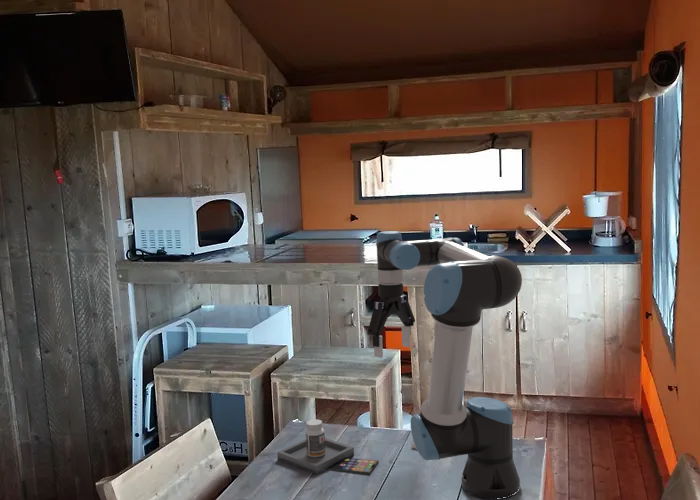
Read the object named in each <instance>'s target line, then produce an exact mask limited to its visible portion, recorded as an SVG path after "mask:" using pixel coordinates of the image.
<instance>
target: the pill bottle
mask: <svg viewBox="0 0 700 500" xmlns="http://www.w3.org/2000/svg"><path fill="white" fill-rule="evenodd" d="M325 436H326V435H325V429H324V428H323V421H322V420H320V419H318V418H317V419H310V420H308V421H306V429H305V439H306V452H307V455H308V456H309V457H313V458H317V457H321V456H323V455H324V454H325V452H326V450H325V438H326V437H325Z"/></svg>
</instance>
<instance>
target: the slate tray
mask: <svg viewBox="0 0 700 500" xmlns="http://www.w3.org/2000/svg"><path fill="white" fill-rule="evenodd" d="M325 450H326V452H325V454H324V455H323V456H321V457H317V458H313V457H309V456H308V455H307V452H306V438H305V439H303V440H301V441H298V442H297V443H294V444H292V445H290V446H288V447H284V449H281V450H279V451H277V453H276V454H277V460H278V461H279V462H282V463H285V464H288V465H290V466H293V467H296V468H297V469H298V468H299V469H301V470H304V471H306V472H309V473H311V474H314V475H319V474H321V473H323V472H324V471H326V469H327V468H328V467H330V466H332V465H333V464H335V463H337V462H339V461H341V460H343V459H345V458H352V457H353V456H355V448H354V446H351V445H348V444H344V443H343V442H339V441H336V440H332V439H330V438H326V437H325Z"/></svg>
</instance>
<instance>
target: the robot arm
mask: <svg viewBox="0 0 700 500" xmlns="http://www.w3.org/2000/svg"><path fill="white" fill-rule="evenodd" d="M402 238H403V237H402V233H401V231H398V230H397V231H396V230H392V231H391V230H389V231H388V230H387V231H386V230H385V231H380V232H378V233H377V234H376V243H375V245H376V259H377V260H376V261H377V262H376V263H377V265H376V266H377V281H378V284H377V288H378V289H377V292H378V296H379V297H380V301H374V302H373V309H372V314H371V317H370V321H369V325H368V329H367V335H369V336H372V345H373V350H374V351H373V353H374V354H373V355H374V356H373V357H375V358H381V359H382V358H384V349H383V345H384V344H383V335H382V332H383V330H384V327H385V325H386V322H387V321H388V318H389V317H390V316H391V315H393V314H396V315H397V317H398V318H399V320H400V321H401V323H402V325H401V346H402V347H405V348H411V333H412V332H411V327H413V326H414V324H415V323H416V319H415V316H414V314H413V311H412V309H411V305H410V302H409V296H408V295H407V294H404V283H403V281H404V271H403V270H406V271H408V270H412V269H414V268H419V267H428V266H432V267H431V268H430V269H429V271H428V272H427V274H426V276H425V279H424V284H423V285H424V286H423V295H424V299H423V300H424V304H425V307H426V309H427V311H428V312H429V313H430V316H431V318H432V319H433V320H434V321H435V322H436V324H435V332H434V341H433V351H432V360H431V368H430V376H429V377H430V378H429V388H428V394H427V395H428V396H427V399H425V400H424V401H423V402H422V403H421V405H420V413H419V414H418V413H415V414H413V415H412V416H411V418H410V431H411V432H410V433H411V435H412V441H414V443H415V446H416V448H417V449H416V451H417V452H418V454H419V456H420V457H421V458H422V459H424V460H425V461H436V460H439V461H440V460H441V459H447V458H453V457H458V456H463V455H464V456H465V455H467V458H466V462H465V465H464V467H463V470H462V472H461V473H462V474H461V488H462V490H463V491H464V492H466V493H467V494H468V495H471V496H473V497H475V498H480V499H486V500H498V499H497V498H503V497H508V496H510V495H512V494H514V493H515V492H517V491H518V489H519V487H520V488H521V480H520V476H519V473H518V471H517V468H516V464H515V462H514V459H513V458H514V456H513V451H514V450H513V448H514V447H513V446H514V445H513V443H514V442H513V441H514V440H513V439H514V438H513V437H514V436H513V427H514V426H513V424H514V419H513V411H512V408H511V406H510V405H509V404H507V403H506V402H504V401H502V400H498V399H496V398H493V397H484V396H483V397H482V396H479V397H476V396H475V397H470V398H469V399H467V401H466V403H465V405H464V403H463V401H464V395H465V387H466V379H467V372H468V365H469V356H470V349H471V342H472V334H473V329H474V327H475V326H477V325H479V323H480V321H481V317H482V311H483V310H489V309H496V308H502V307H505V306H507V305H508V304H510V303H511V302H512V301H513V300H515V298H516V297H518V295H519V293H520V291H521V288H522V284H523V278H522V277H523V276H522V273H521V270H520V269H519V267H518V265H517V264H516V263H515V262H513V261H512V260H510V259H509V258H506V257H503V256H501V255H491V256H489V255H488V254H484V253H482V252H480V251H477V250H474V249H471V248H469V247H466V246H465V245H464V243H463V241H462V239H460V238H458V237H445V238H444V237H443V238H436V239H433V238H432V239H421V240H420V239H419V240H404V241H403V239H402ZM508 498H509V497H508Z"/></svg>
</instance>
